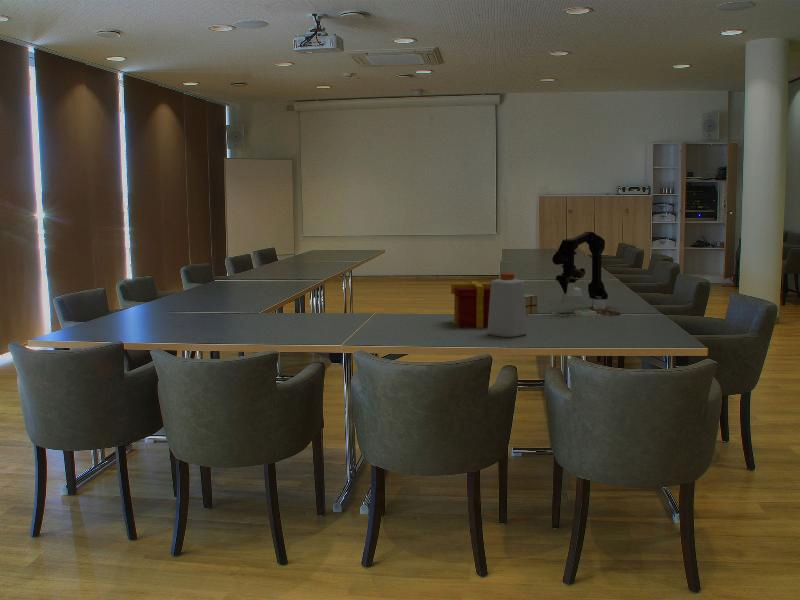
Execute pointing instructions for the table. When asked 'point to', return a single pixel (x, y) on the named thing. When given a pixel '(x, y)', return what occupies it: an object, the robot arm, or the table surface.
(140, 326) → the table surface
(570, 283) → the block
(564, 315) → the tray
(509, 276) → the plastic bottle
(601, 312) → the pallet board
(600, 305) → the block
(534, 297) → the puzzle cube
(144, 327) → the table surface
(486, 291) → the gift box
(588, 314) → the button console
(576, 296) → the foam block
